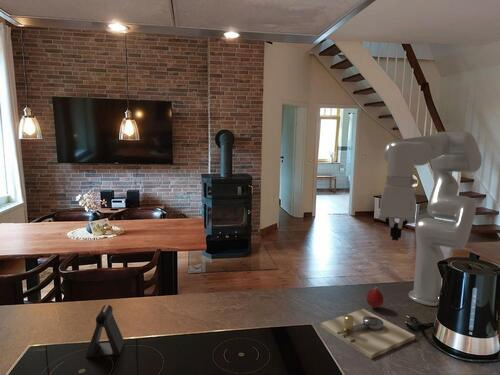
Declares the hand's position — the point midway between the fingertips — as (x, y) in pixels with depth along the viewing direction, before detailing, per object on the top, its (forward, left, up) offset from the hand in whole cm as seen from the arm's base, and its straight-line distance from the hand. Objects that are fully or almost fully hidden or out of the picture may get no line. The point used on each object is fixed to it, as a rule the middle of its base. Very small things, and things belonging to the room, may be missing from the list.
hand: (395, 239), depth 111 cm
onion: (-6, -11, -29) cm, 32 cm away
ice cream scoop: (+12, -2, -28) cm, 30 cm away
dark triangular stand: (+82, -32, -29) cm, 93 cm away
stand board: (+10, -1, -29) cm, 31 cm away
